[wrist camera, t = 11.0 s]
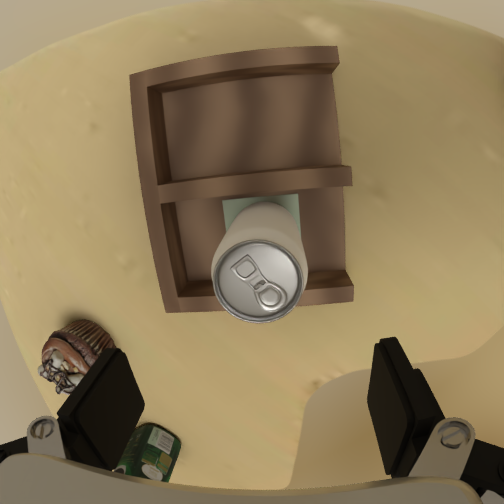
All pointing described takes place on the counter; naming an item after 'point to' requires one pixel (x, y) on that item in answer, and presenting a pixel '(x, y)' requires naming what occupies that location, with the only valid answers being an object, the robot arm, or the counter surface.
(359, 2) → the counter surface
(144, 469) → the coffee jar
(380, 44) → the counter surface
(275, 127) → the tray
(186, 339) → the counter surface
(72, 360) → the cupcake
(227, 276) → the can
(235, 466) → the counter surface
